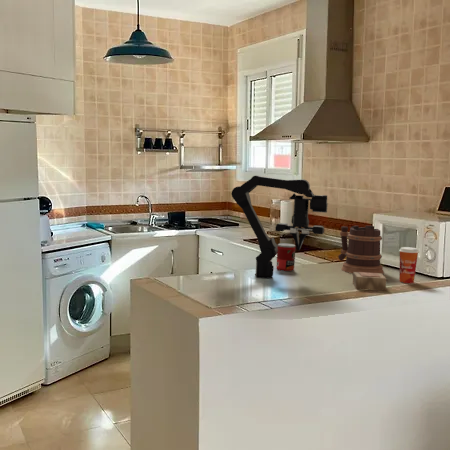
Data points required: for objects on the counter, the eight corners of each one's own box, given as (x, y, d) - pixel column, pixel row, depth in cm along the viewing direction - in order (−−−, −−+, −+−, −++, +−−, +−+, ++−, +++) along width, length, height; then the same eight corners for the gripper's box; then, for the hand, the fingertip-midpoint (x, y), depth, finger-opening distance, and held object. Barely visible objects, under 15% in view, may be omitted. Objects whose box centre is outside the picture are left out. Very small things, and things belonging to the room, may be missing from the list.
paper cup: (395, 282, 239) (397, 248, 237) (398, 279, 245) (401, 246, 244) (414, 284, 235) (417, 250, 233) (418, 281, 242) (420, 248, 240)
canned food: (288, 271, 251) (289, 246, 250) (272, 269, 256) (274, 244, 255) (297, 269, 257) (298, 245, 256) (282, 267, 262) (283, 242, 261)
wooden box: (356, 275, 222) (386, 277, 221) (353, 271, 231) (381, 272, 231) (355, 289, 222) (385, 291, 221) (352, 284, 232) (380, 285, 231)
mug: (351, 264, 278) (354, 222, 275) (392, 272, 260) (395, 228, 258) (325, 267, 266) (328, 223, 264) (366, 276, 248) (369, 229, 246)
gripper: (326, 211, 237) (324, 249, 239) (281, 208, 242) (279, 245, 244) (323, 213, 226) (321, 253, 228) (276, 210, 231) (274, 249, 233)
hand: (298, 250), depth 234 cm, fingers closed
